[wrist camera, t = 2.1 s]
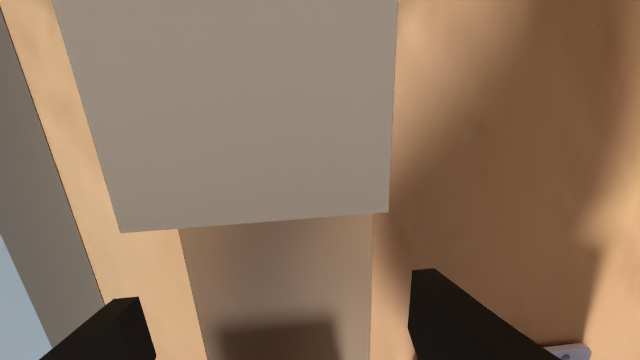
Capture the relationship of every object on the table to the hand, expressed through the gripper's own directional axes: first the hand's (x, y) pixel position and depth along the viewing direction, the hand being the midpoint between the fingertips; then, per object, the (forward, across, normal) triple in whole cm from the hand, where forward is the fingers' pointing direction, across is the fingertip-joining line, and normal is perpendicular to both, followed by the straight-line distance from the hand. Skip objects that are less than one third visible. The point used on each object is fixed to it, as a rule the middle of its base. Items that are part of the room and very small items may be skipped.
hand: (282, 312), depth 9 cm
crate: (+1, 0, -6) cm, 6 cm away
